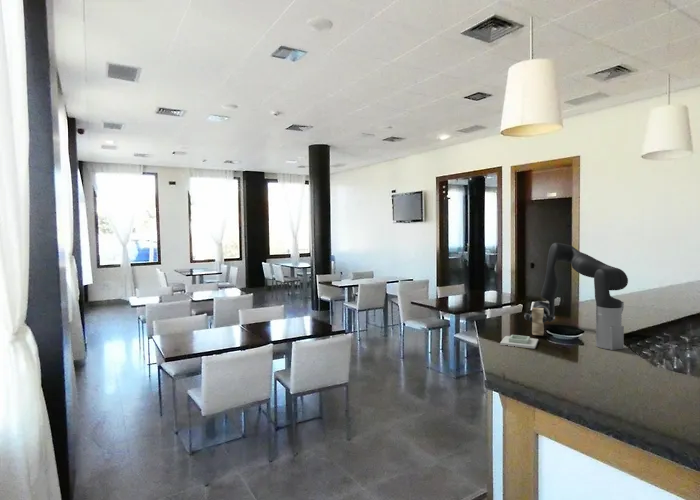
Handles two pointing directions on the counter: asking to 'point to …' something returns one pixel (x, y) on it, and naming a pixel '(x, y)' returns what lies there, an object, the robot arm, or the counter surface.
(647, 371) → the counter surface
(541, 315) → the beige square block
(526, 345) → the base plate
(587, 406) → the counter surface
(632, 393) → the counter surface
